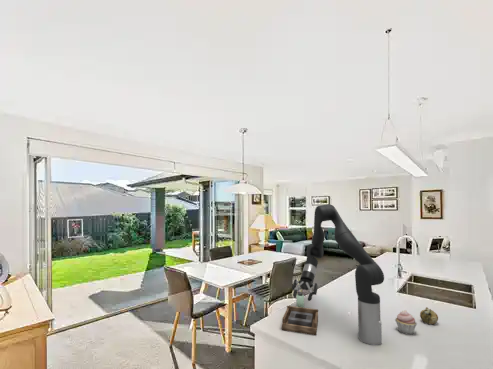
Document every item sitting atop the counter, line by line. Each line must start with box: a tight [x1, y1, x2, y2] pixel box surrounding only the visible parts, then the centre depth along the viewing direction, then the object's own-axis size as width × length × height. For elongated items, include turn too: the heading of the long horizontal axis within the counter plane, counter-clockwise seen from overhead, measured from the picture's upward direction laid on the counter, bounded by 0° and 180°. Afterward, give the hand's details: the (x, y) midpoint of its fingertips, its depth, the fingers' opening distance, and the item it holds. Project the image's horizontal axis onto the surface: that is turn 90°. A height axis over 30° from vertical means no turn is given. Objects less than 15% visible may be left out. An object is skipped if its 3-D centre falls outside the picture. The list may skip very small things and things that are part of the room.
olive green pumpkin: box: [419, 307, 439, 325], centre depth 141 cm, size 8×8×8 cm
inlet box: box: [281, 305, 319, 336], centre depth 135 cm, size 16×16×6 cm
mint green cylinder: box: [296, 291, 305, 308], centre depth 150 cm, size 4×4×12 cm
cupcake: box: [394, 309, 418, 335], centre depth 131 cm, size 9×9×10 cm
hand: (301, 298), depth 152 cm, fingers open, 8 cm apart
